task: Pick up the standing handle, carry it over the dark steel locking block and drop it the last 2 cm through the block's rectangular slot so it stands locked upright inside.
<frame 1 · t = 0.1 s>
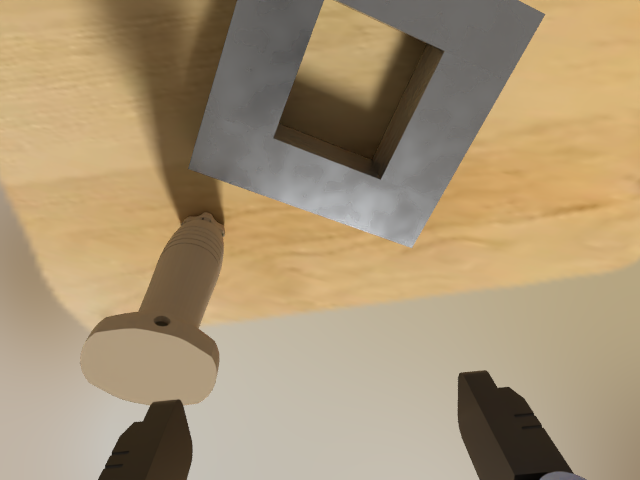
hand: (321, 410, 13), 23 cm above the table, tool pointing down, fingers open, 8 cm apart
handle: (204, 228, 36), on the table
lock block: (349, 84, 31), on the table
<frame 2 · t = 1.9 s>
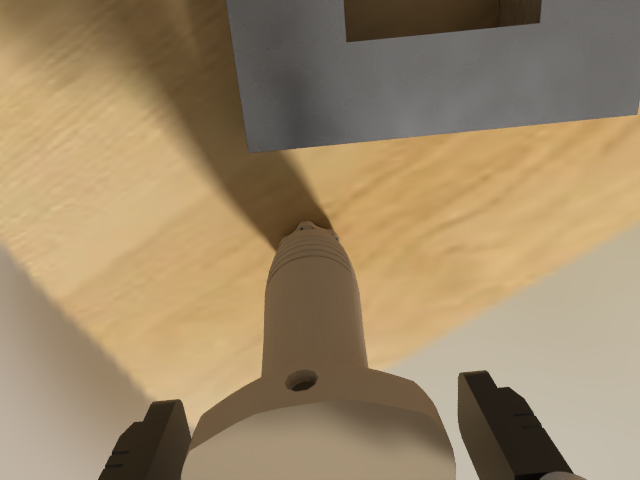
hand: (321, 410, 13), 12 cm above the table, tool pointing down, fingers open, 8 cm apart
handle: (310, 245, 25), on the table
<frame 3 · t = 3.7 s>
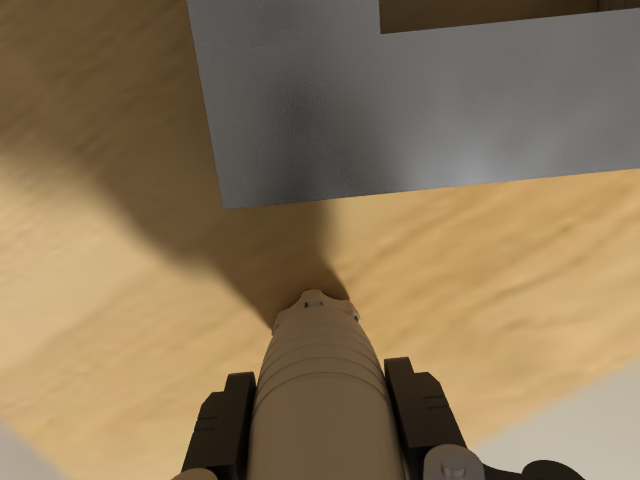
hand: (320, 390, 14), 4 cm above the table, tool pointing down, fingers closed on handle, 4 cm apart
handle: (317, 319, 18), on the table, touching gripper
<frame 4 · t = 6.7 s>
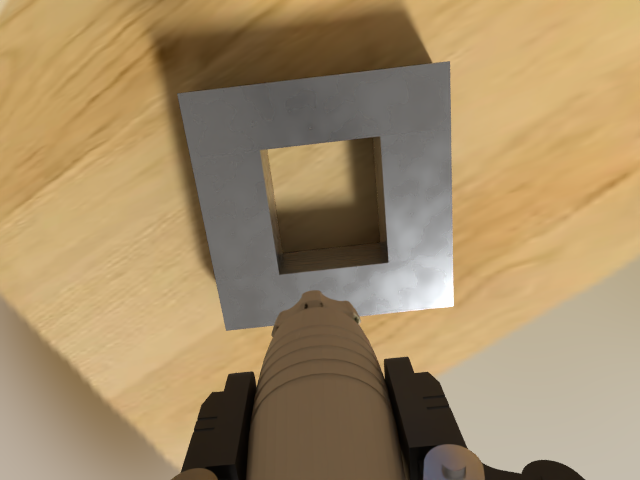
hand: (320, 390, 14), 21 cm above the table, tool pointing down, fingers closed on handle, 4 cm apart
handle: (317, 320, 18), point 17 cm above the table, touching gripper
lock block: (325, 193, 33), on the table
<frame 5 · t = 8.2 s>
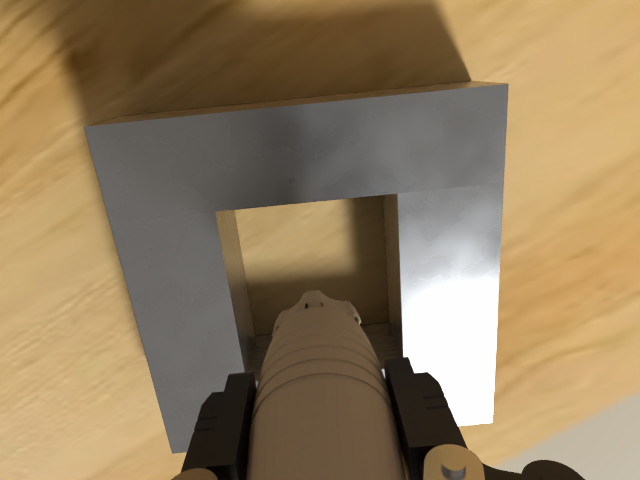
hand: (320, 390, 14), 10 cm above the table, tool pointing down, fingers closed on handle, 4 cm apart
handle: (318, 320, 18), point 6 cm above the table, touching gripper
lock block: (314, 259, 24), on the table
when the fingers open (6 cm above the table, at t = 9.5 s): handle drops 2 cm, resting in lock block.
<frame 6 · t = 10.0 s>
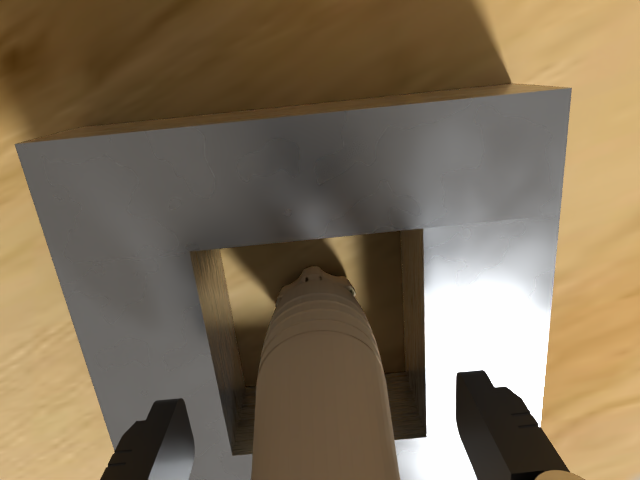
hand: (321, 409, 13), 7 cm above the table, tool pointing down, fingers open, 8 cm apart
handle: (317, 295, 20), resting in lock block
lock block: (316, 298, 20), on the table
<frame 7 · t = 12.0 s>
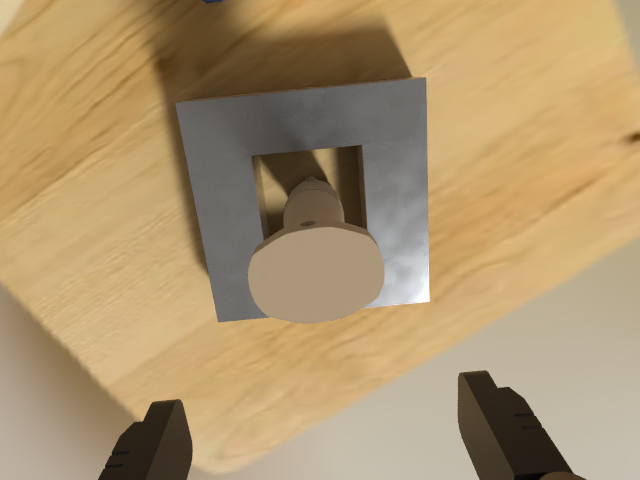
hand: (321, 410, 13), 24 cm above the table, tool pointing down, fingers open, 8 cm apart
handle: (312, 194, 36), resting in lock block
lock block: (312, 196, 36), on the table
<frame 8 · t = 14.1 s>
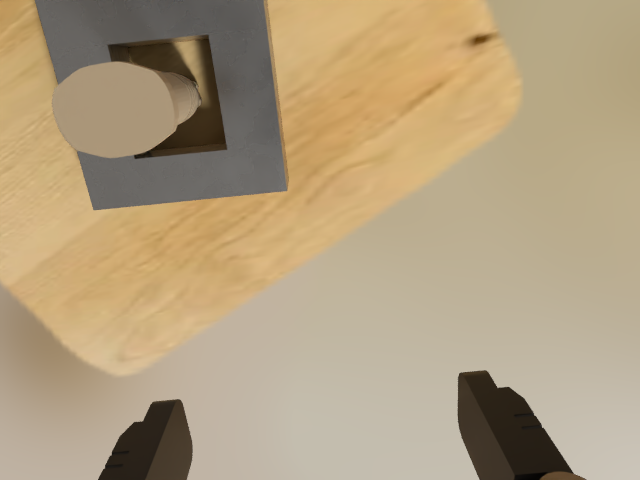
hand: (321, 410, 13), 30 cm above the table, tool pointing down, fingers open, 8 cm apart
handle: (184, 95, 39), resting in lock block
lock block: (183, 96, 39), on the table
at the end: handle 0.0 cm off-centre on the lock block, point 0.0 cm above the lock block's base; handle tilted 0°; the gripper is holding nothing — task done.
